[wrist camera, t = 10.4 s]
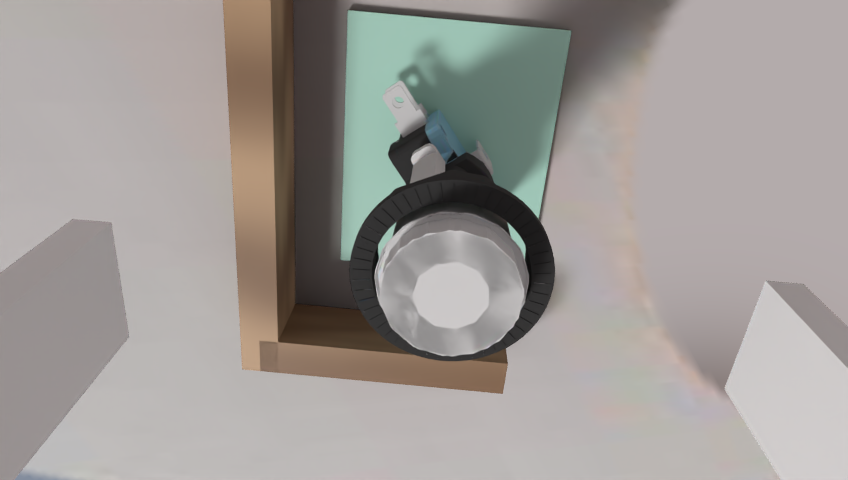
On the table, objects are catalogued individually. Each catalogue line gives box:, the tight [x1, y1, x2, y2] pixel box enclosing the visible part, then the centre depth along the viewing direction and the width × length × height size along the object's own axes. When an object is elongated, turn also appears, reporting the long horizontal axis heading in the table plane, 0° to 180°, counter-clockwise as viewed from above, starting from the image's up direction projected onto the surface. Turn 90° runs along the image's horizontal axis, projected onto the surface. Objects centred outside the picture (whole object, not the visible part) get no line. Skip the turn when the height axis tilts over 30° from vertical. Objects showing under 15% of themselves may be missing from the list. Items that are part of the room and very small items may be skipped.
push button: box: [349, 81, 555, 361], centre depth 19 cm, size 7×5×10 cm
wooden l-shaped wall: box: [223, 0, 508, 394], centre depth 21 cm, size 24×11×3 cm, turn 175°
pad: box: [341, 10, 571, 261], centre depth 24 cm, size 10×8×1 cm
